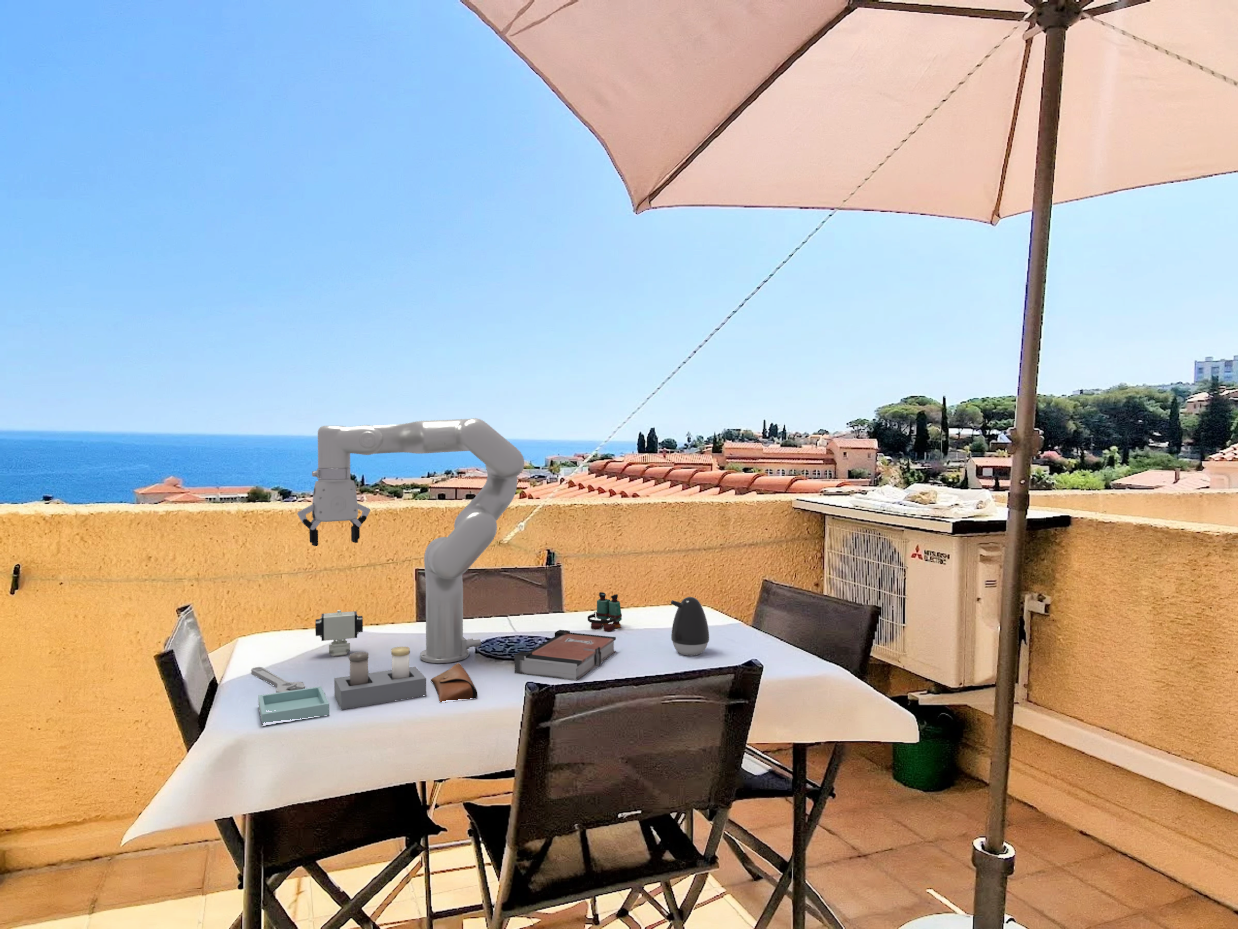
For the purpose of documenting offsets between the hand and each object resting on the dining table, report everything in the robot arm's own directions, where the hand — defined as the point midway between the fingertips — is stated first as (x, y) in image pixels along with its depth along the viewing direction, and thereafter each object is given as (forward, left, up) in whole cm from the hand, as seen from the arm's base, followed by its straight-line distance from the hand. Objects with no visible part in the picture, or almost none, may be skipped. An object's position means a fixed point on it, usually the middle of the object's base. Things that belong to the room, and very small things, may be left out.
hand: (335, 543), depth 185 cm
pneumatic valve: (-3, -13, -32) cm, 34 cm away
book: (-54, +23, -32) cm, 66 cm away
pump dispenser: (-86, +31, -32) cm, 96 cm away
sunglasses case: (-21, +29, -32) cm, 48 cm away
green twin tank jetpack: (-78, -3, -32) cm, 84 cm away
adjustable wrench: (+14, +5, -32) cm, 35 cm away
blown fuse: (-1, +26, -31) cm, 41 cm away
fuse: (-10, +26, -31) cm, 42 cm away
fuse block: (-6, +26, -31) cm, 41 cm away
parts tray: (+12, +27, -31) cm, 43 cm away
